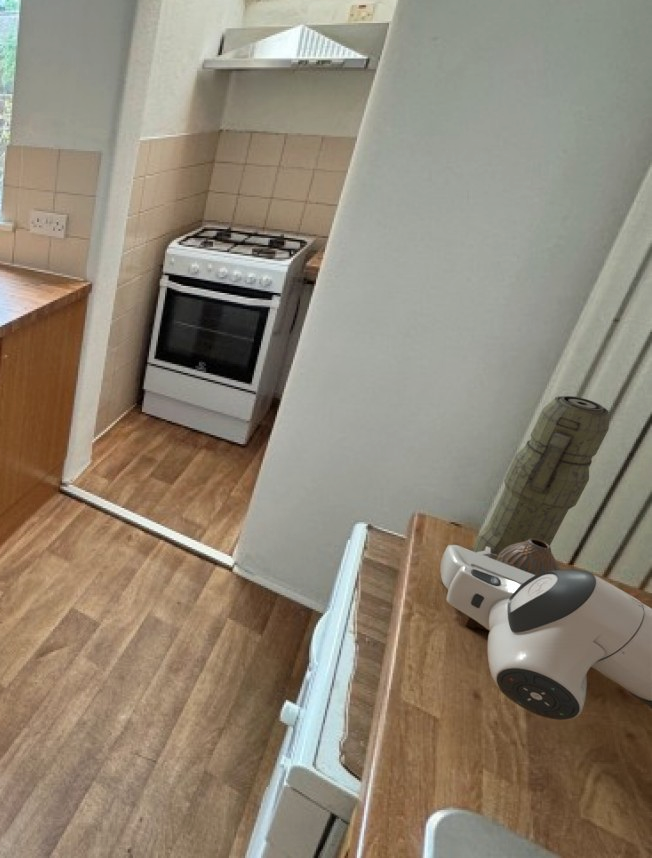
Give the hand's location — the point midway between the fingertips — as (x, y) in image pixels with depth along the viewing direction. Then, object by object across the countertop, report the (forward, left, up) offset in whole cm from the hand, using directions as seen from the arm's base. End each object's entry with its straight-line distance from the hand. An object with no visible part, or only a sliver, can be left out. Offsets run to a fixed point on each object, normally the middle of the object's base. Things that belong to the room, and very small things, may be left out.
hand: (531, 567), depth 92 cm
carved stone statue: (-5, -17, -13) cm, 22 cm away
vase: (-1, -2, -6) cm, 6 cm away
